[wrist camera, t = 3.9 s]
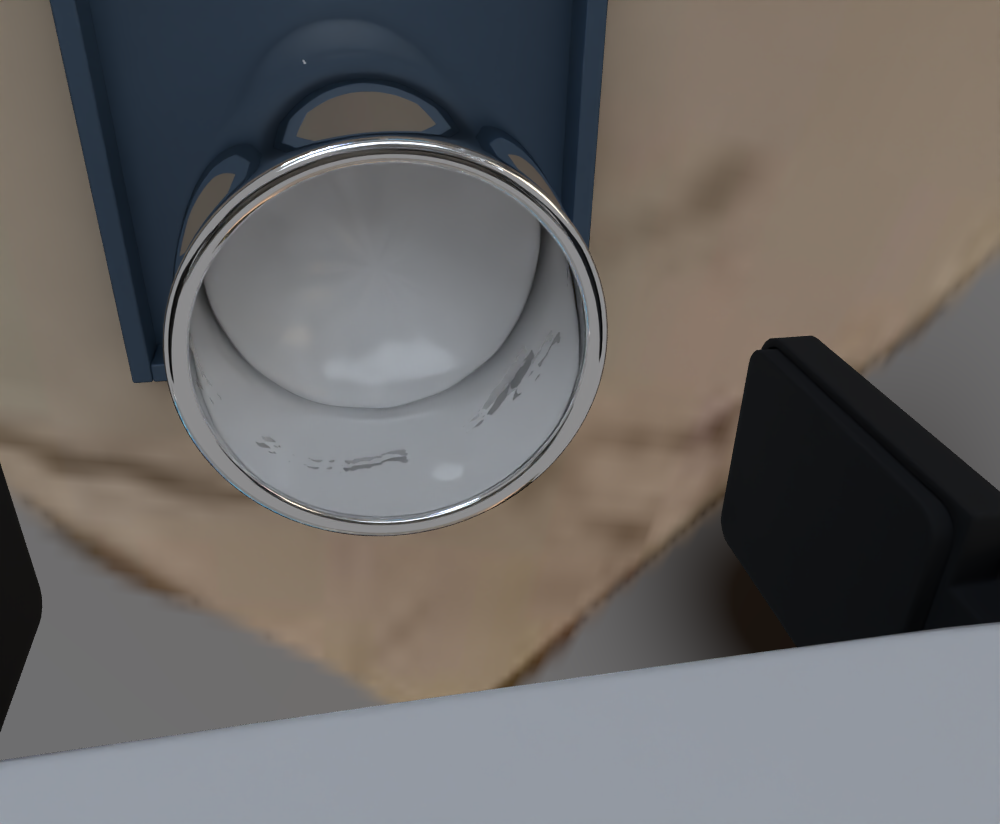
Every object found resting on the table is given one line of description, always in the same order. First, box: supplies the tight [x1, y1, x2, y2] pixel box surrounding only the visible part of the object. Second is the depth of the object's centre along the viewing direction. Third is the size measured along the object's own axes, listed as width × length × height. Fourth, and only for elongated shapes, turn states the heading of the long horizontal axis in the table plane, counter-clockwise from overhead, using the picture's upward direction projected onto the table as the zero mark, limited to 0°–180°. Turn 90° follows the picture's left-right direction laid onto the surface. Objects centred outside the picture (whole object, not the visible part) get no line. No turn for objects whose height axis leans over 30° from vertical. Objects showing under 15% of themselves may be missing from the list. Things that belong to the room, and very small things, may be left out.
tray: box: [50, 0, 608, 383], centre depth 25 cm, size 14×14×2 cm
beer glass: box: [163, 18, 608, 536], centre depth 19 cm, size 7×7×15 cm
